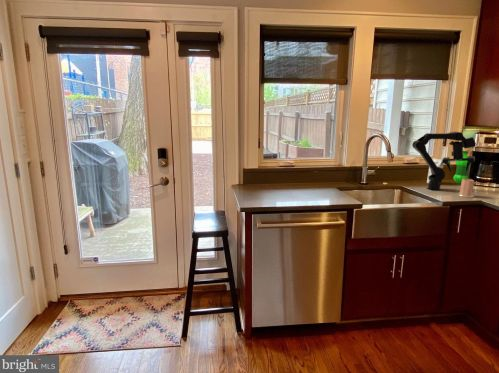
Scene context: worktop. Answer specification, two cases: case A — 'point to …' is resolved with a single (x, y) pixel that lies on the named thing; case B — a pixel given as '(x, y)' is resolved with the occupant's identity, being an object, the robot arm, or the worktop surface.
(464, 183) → the terracotta pot
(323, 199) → the worktop surface
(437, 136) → the robot arm
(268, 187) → the worktop surface
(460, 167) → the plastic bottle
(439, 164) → the milk carton
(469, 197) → the silver pot lid
